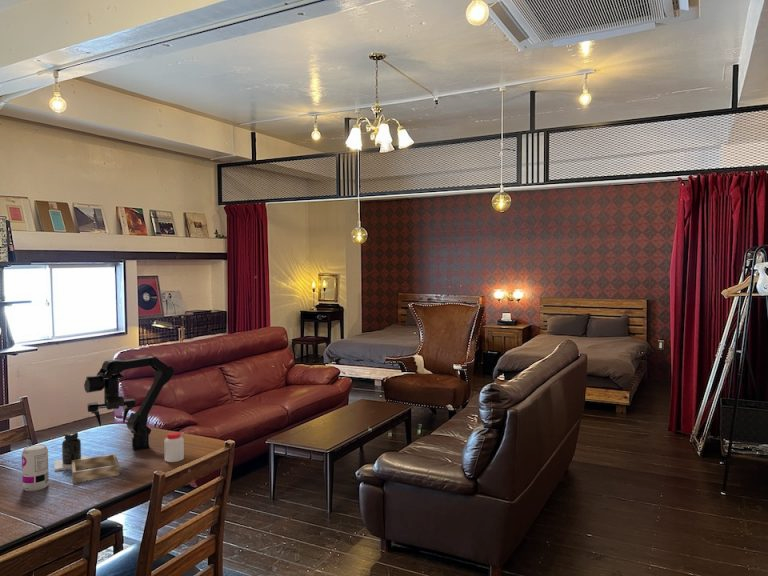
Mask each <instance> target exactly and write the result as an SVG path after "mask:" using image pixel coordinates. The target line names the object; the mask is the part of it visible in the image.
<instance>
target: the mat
mask: <svg viewBox="0 0 768 576" xmlns="http://www.w3.org/2000/svg"><path fill="white" fill-rule="evenodd" d="M85 458H88V455H81V459H85ZM66 469H68V470H72V464H63V462H62V459H56V460H54V472H60V471H59V470H62V471H66Z"/></svg>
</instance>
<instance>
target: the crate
mask: <svg viewBox="0 0 768 576" xmlns="http://www.w3.org/2000/svg"><path fill="white" fill-rule="evenodd" d="M93 467H95V468H93ZM85 468H88V469H85ZM80 469H82V470H80ZM120 474H121V473H120V463H119V460H118V458H117V455H116V453H111V454H106V455H105V454H104V455H99V456H98V455H97V456H93V457H87V458H85V459H78V460H72V469H71V475H72V476H71V477H72V484H76V483H81V481H82V482H87V481H86V480H88V481H93V479H94V480H99V479H103V478H104V479H105V478H111V477H117V476H120ZM75 482H76V483H75Z"/></svg>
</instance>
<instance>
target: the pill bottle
mask: <svg viewBox="0 0 768 576" xmlns="http://www.w3.org/2000/svg"><path fill="white" fill-rule="evenodd" d="M184 440H185V439H184V437H183V436H182V435H181V431H171V432H167V434H166V438H164V440H163V441H164V445H163V447H164V449H163V450H164V451H163V452H164V461H165V462H166V461H167V463H175V462H180V461H182V460H184V459H185V452H184V451H185V450H184V449H185V448H184V447H185V446H184Z"/></svg>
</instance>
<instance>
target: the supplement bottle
mask: <svg viewBox="0 0 768 576" xmlns="http://www.w3.org/2000/svg"><path fill="white" fill-rule="evenodd" d="M78 437H79V433H78V431H69V432H66V433H65V434H64V437H63V438H64V440H63V441H62V442H61V451H62V452H61V457H62V459H61V460H62V462H63V464H72V460H78V459H81V457H82V442H81V439H80V438H78Z"/></svg>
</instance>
